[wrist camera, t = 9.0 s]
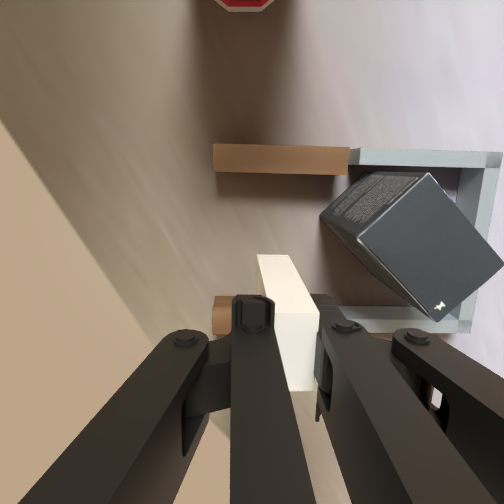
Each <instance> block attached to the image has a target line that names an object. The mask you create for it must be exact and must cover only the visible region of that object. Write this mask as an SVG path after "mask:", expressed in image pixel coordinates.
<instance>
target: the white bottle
mask: <svg viewBox="0 0 504 504" xmlns="http://www.w3.org/2000/svg"><path fill="white" fill-rule="evenodd" d="M214 1H216V2H217V3H218V4H219V5H221V6H222V7H223V8H224V9H226V10H227V11H228V12H261V11H262V10H264V9H265V8H266V7H267V6H269V5H270V4H271V3H272V2H273V1H275V0H214Z"/></svg>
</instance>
